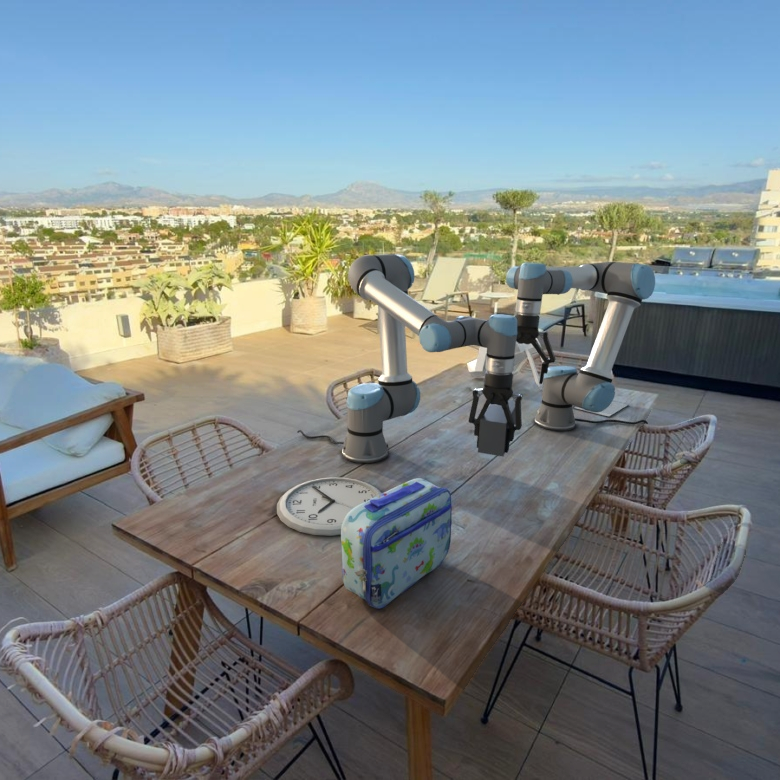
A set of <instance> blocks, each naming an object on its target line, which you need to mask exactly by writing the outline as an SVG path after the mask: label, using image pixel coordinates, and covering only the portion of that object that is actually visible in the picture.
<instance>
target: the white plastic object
mask: <svg viewBox="0 0 780 780" xmlns="http://www.w3.org/2000/svg"><path fill="white" fill-rule="evenodd" d="M536 340H537V342H538V344H539V345H540V347H541V348H542V345H541V342H540V340H539V339H538V337H537V338H536ZM478 347H479V348H478V352H477V356H476V359H474V360H472V361H470V362H467V363H466V366H467V369H468V373H469V374H470V376H471V377H472V378H480V377H485V372H486V371H487V370H486V357H487V348H485V347H480V346H478ZM536 353H538V352H537V351H536V349H535V348H534V346H533V345H532V344H524V343H521V344H520V343H518V342H517V341H516V345H515V359H514V367H516V366H517V365H519V363H521V362H522V361H524V360H525V359H526V358H527V359H528V363H529V367H530V369H531V372H532V375H533V378H534V381H535V384H536V385H537V386H538V388H539V389H540V391H543V384H539V382H540V375H539V374H538V370H537V367H536V365H535V361H534V358H533V355H534V354H536ZM539 357H540V360H541V364H542V363H543V362H544V361H543V359H542V358H541V356H540V355H539Z"/></svg>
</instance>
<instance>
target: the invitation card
mask: <svg viewBox="0 0 780 780" xmlns="http://www.w3.org/2000/svg"><path fill="white" fill-rule="evenodd" d="M628 406H629V404H627V403H623V402H618V401H614V400H613V401H612V402H611V404H610V405H609V406H608V407H607V408H606V409H604V410H603V411H601V412H591V411H587V410H584V409H582V408H579V407H576V406H574V407H573V409H575V410H581V411H584V412H587V413H593V414H596V415H600V416H604V417H608V418H609V417H611V416H613V415H614V414H616V413H617V412H619V411H621V410H623V409H624V408H626V407H628Z"/></svg>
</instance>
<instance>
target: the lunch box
mask: <svg viewBox="0 0 780 780" xmlns="http://www.w3.org/2000/svg"><path fill="white" fill-rule="evenodd" d="M451 539H452V494H451V491H450V490H449V488H446V487H439V486H437V485H435V484H434V483H432V482H430V481H428V480H426V479H424V478H421V477H416V478H413V479H410V480H408V481H405V482H403V483H402V484H398V485H397V486H395V487H392V488H390V489H389V490H386V491H384V492H382V494H380V495H378V496H376V497H374V498H372V499H370V500H368V501H366V502H364V503H362V504H360V505H358V506H356V507H354V508H353V509H351V510H350V511H349V512H348V514H347V515H346V517H345V518H344V520H343V523H342V528H341V535H340V546H341V569H342V570H341V571H342V582H343V585H344V588H345V589H346V590H347V591H349V592H351V593H353V594H355V595H356V596H358V597H359V598H361V599H362V600H364V601H365V602H366V603H367V605H368V606H370V607H372V608H374V609H378V610H379V609H380V610H381V609H383V608H384V607H387V605H389V604H390V603H391V602H392V601H393V600H395V599H396V598H397V597H399V596H400V595H402V594H403V593H404V592H405V591H407V590H408V589H409V588H411V587H412V586H413V585H415V584H416V583H418V581H419V580H420V579H421V578H423V577H425V576H427V575H428V574H429V573H431V572H432V571H434V570H435V569H437V568H438V567H439V566H441V564H442V563H443V562H444V561H445V559H446V557H447V556H448V554H449V550H450V547H451V541H452V540H451Z"/></svg>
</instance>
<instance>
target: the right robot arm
mask: <svg viewBox="0 0 780 780" xmlns="http://www.w3.org/2000/svg"><path fill="white" fill-rule="evenodd" d="M505 280H506V281H505V282H506V284H507V286H508V287H509V288H510V289H514V290H517V295H516V302H515V314H514V317H516V318H517V338H516V341H517V342H518V344H523V343H524V344H532V345H533V346H534V348H535V349H536V351H537V352H536V353H537V354H538V355H539V357H540V356H541V358H542V359H543V361H544V362H543V363H542V362H541V369H540V375H539V379H540V382H539V384H541V385H542V390H541V391H542V392H541V402H540V405H539V407H538V409H537V410H536V413H535V416H534V424H535V425H536V426H537V427H539V428H542V429H544V430H549V431H556V432H567V431H572V430H574V429H575V428H576V422H582V423H588V424H596V425H597V424H605V423H619V424H625V425H638V424H642V423H644V424H645V425H649V422H648V421H647V420H646V419H640V420H637V421H626V420H621V419H602V420H589V419H585V418H584V419H582V418H577V417H576V416H575V413H574V407H579V408H582V409H584V410H587V411H586V412H588V411H591V412H590V413H592V412H601V411H603V410H604V409H606V408H607V407H608V406H609V405H610V404H611V402H612V401H614V398H615V395H616V387H615V385H614V384H613V380H614V378H613V376H612V374H611V373H612V370H613V368H614V365H615V362H616V359H617V356H618V353H619V351H620V348H621V346H622V344H623V340H624V338H625V337H624V336H625V334H626V332H627V330H628V326H629V324H630V321H631V319H632V316H633V313H634V310H635V309H637V308H638V307H640V306H641V304H642V303H643V302H642V301H643V300H648V299H649V298H651V296H652V295H653V293H654V291H655V288H656V275H655V271H654V269H653V268H652V267H651V265H648V264H644V263H639V262H635V263H633V262H619V261H602V262H593V263H583V264H581V265H580V266H547V265H546V263H541V262H540V263H539V262H523V263H522V264H521V265H519V266H518V265H517V266H515V265H514V266H512V267H510V268H509V270H508V271H507V273H506V277H505ZM571 289H578V290H580V291H583V292H584V291H590V292H596V293H600V294H604V295H606V300H607V301H608V304H607V307H606V310H605V313H604V315H603V318H602V321H601V324H600V327H599V329H598V331H597V334H596V337H595V340H594V343H593V346H592V348H591V351H590V354H589V357H588V360H587V362H586V365H585V366H583V367H581V368H580V369H579V372H578V369H577V367H574V366H569V365H568V366H567V365H557V366H550V364H552V363H553V364H554V363H555V362H556V360H557V358H556V356H555V353H554V350H553V348H552V347H553V346H552V344H551V342H550V339H549V331H548V330H545V331H539V325H540V314H541V309H542V304H543V303H542V302H543V301H542V300H543V295H564V294H566V293H569V291H570V290H571ZM539 336H540V338H541V340H543V343H544V346H545V349H546V351H547V352H546V353H547V354H548V355H547V354H546V353H545V351H544V350H543V348H542V346H541V347H540V345H541V344H540V345H539V344H538V342H537V340H536V338H537V339H538V337H539ZM541 358H540V359H541ZM573 406H574V407H573ZM584 410H583V411H584ZM575 417H576V418H575Z"/></svg>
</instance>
